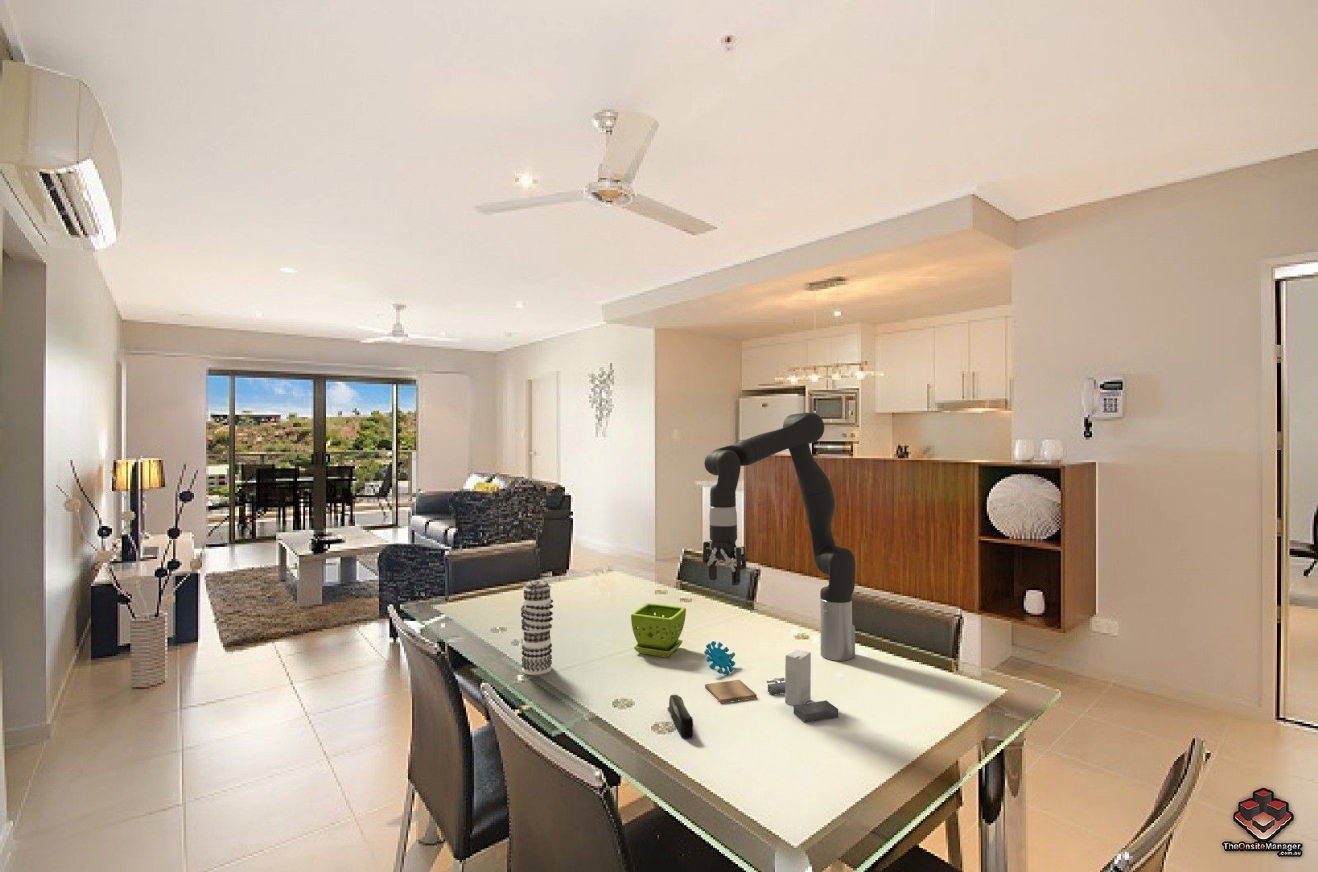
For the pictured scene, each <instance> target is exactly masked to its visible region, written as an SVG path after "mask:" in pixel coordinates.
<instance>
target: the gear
mask: <svg viewBox="0 0 1318 872" xmlns="http://www.w3.org/2000/svg"><path fill="white" fill-rule="evenodd" d="M716 645H717V647H716ZM722 647H723V643H722V642H720V641H719V642H718V643H717V642H716V641H713V640H712V641H711V642H710V643H707V644H706V645H705V648H706V649H705V650H704V652H703V653H704V654H705V655H707V656H706V657H705V661H706V662H707V663H709V662H711V663H710V664H709V665H708V667H709V669H712V670H714V669H715V668H716V667H718V669H717V670H716V672H717V673H718V674H720V675H721V674H724V675H725V674H728V675H729V674H730V673H732V672H733V671H735V668H734V667H735V665H736V661H734V660H733V659H734V657H735V656H736V653H735V652H732V653H728V652H729V650H730V649H729V647H728V646H725V647H724V648H722ZM723 669H724V671H723Z"/></svg>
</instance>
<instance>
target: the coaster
mask: <svg viewBox="0 0 1318 872" xmlns="http://www.w3.org/2000/svg"><path fill="white" fill-rule="evenodd" d="M704 687H705V690H706V691H707V692H708V691H709V692H710V693H711V694H712V695H713V696H714V697H715V698H716V699H717V700H718V701H717V700H716V699H715V698H714V697H713V696H712V695H711V694H710V695H711V696H712V697H713V698H714V699H715V700H716V701H717V702H718V703H719V702H720V703H721V704H724V703H723V702H728V703H732V702H731V701H735V702H739V701H738V700H742V701H746V700H745V699H749V700H752V699H751V698H756V699H757V697H758V696H757V693H756V692H754V691H753V690H752V689H751V688H750V687H748V686H747V685H746V684H745V682H743V681H742V680H741V679H735V680H734V679H733V680H728V681H727V680H725V681H718V682H712V683H705V684H704ZM709 692H708V693H709ZM720 703H719V704H720Z"/></svg>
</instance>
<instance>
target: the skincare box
mask: <svg viewBox="0 0 1318 872" xmlns="http://www.w3.org/2000/svg"><path fill="white" fill-rule="evenodd" d="M811 657H812V652H810V651H806V650H801V649H797V648H796V649H794V650H792V651H790V652H789V653H787V654H786V655H785V663H784V664H785V672H784V673H785V675H784V679H785V681H784V682H785V693H784V702H785V703H786V704H788V705H789V706H790V705H791V706H793V707H794V705H799V704H806V703H808V701H810V700H811V698H812V697H811V691H812V689H811V687H812V685H811V684H812V680H811V678H812V677H811V676H812V675H811V674H812V665H811V664H812V663H811V661H812V660H811V659H812V658H811Z"/></svg>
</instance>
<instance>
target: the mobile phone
mask: <svg viewBox="0 0 1318 872" xmlns="http://www.w3.org/2000/svg"><path fill="white" fill-rule="evenodd" d="M667 711H668V712H669V714H670V718H671V720H672V722H673V724H674V725H675V728H676V730H677V733H679V735H680V737H681V738H684V739H692V738H693V736H694V719H693V717H692V716H691V714H690V712H689V711H688V709H687V707H686V706H685V702H684V700H683V698H682V697H681V696H679V695H678V694H672V695H671V694H670V695H669V702H668V707H667Z"/></svg>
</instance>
